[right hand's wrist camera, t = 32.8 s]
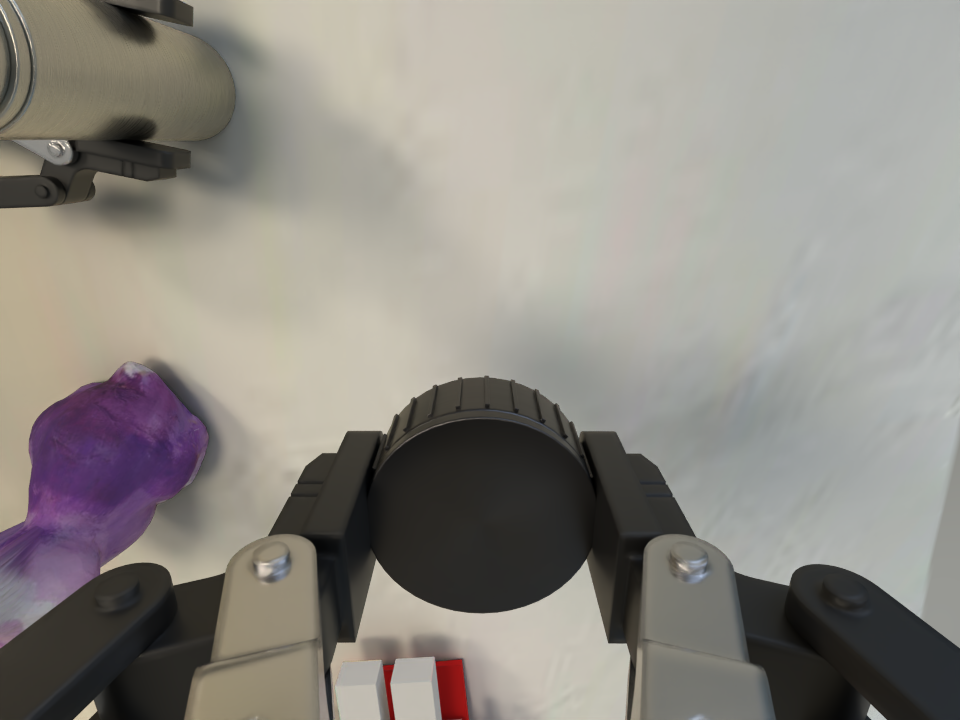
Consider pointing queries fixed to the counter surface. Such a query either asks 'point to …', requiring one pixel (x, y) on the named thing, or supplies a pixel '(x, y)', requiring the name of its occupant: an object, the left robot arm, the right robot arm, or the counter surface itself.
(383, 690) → the toy
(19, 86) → the bottle
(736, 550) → the counter surface
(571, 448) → the cap
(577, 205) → the counter surface
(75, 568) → the figurine
